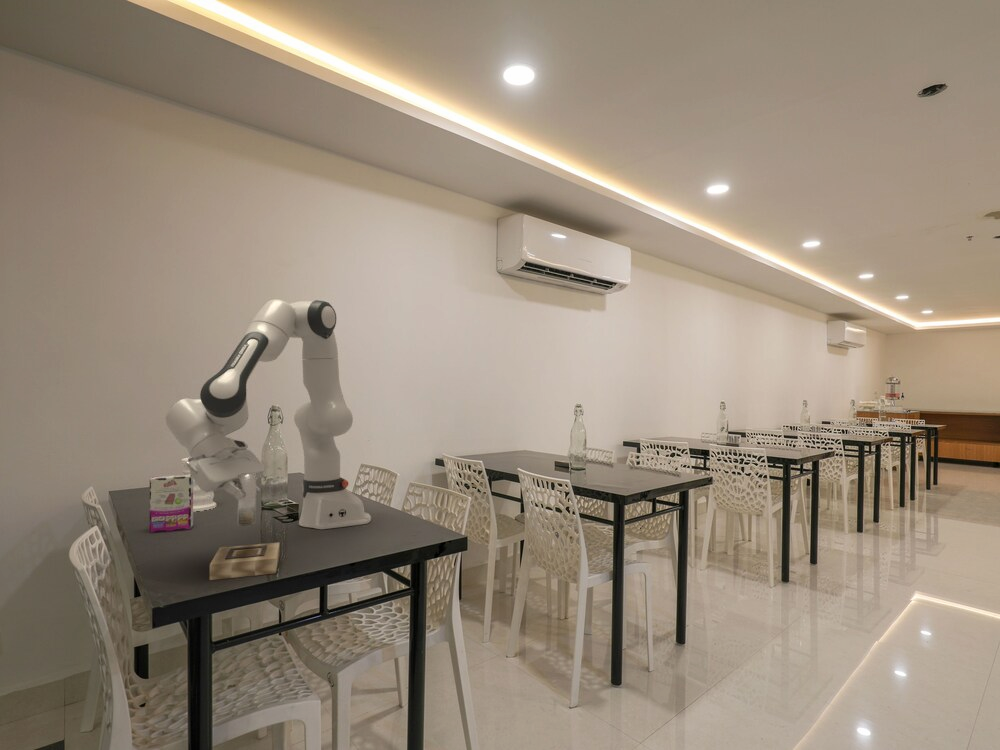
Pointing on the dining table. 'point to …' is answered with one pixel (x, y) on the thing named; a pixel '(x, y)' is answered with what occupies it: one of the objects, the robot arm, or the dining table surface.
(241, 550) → the socket block
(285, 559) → the dining table surface
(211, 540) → the dining table surface
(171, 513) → the candy bar box
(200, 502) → the decorative container
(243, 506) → the aluminium pin
